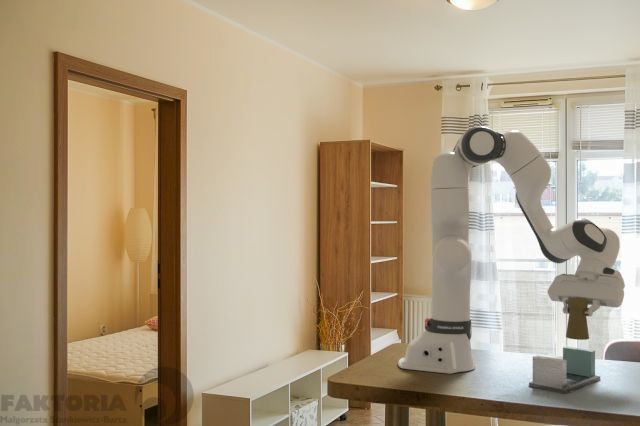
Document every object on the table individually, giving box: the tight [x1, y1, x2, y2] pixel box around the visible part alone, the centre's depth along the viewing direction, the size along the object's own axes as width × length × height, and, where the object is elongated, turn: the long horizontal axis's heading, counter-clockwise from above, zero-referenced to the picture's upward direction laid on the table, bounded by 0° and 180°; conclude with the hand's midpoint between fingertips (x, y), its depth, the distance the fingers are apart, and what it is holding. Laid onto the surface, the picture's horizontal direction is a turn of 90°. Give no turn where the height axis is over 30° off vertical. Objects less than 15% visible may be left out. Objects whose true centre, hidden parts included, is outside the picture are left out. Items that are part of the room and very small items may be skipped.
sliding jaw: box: [562, 346, 596, 377], centre depth 183 cm, size 2×8×7 cm, turn 44°
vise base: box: [528, 355, 601, 395], centre depth 177 cm, size 21×10×8 cm, turn 135°
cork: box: [565, 298, 590, 341], centre depth 182 cm, size 6×6×11 cm
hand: (576, 313), depth 182 cm, fingers closed on cork, 5 cm apart
